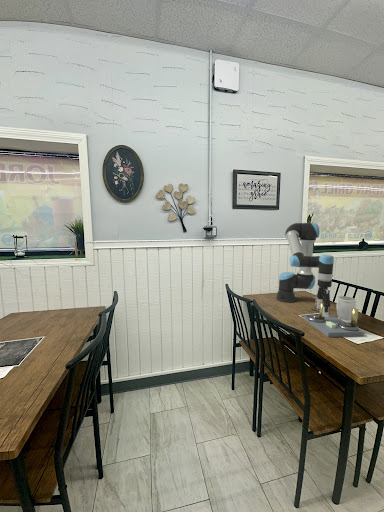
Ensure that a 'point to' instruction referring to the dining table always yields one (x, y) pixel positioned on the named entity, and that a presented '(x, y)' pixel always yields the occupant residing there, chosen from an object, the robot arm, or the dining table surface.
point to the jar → (345, 308)
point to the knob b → (353, 324)
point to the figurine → (315, 304)
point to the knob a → (316, 317)
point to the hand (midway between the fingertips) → (322, 312)
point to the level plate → (331, 330)
